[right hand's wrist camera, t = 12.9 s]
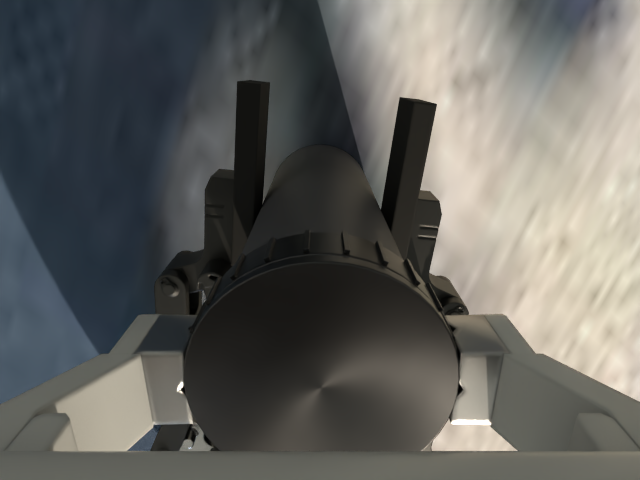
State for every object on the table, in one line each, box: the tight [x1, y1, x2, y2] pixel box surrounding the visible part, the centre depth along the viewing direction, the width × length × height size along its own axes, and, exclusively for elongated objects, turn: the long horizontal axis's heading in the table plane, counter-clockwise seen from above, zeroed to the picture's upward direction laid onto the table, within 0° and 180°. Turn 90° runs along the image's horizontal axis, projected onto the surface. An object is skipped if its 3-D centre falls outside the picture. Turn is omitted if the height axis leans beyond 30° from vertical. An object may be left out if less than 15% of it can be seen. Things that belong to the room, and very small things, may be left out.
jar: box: [241, 145, 402, 259], centre depth 16 cm, size 5×5×15 cm
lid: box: [183, 229, 460, 451], centre depth 9 cm, size 6×6×2 cm
